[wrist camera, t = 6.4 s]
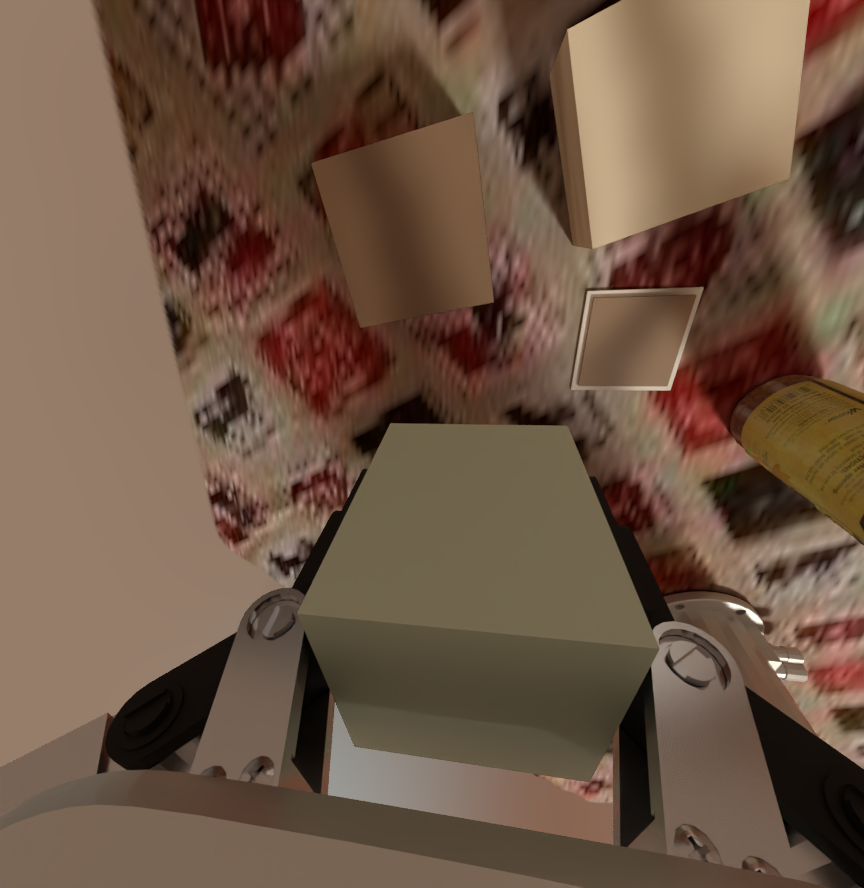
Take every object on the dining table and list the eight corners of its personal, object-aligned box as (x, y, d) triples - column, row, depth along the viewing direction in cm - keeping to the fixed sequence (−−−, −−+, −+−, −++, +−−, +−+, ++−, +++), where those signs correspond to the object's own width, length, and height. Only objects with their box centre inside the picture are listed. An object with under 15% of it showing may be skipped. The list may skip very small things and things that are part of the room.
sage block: (567, 425, 10) (659, 648, 4) (546, 551, 12) (589, 782, 7) (390, 423, 10) (297, 613, 5) (406, 542, 13) (354, 746, 8)
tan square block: (476, 137, 19) (473, 111, 15) (492, 289, 23) (493, 302, 19) (346, 176, 21) (310, 163, 17) (381, 311, 25) (360, 327, 21)
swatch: (702, 286, 22) (705, 287, 21) (669, 389, 25) (671, 391, 25) (586, 290, 22) (588, 291, 22) (570, 388, 26) (571, 391, 26)
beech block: (731, -17, 16) (822, -108, 11) (723, 189, 19) (789, 178, 15) (548, 77, 18) (567, 29, 14) (572, 245, 21) (592, 249, 17)
